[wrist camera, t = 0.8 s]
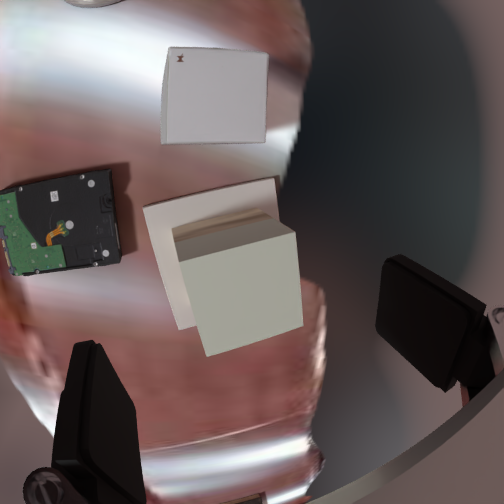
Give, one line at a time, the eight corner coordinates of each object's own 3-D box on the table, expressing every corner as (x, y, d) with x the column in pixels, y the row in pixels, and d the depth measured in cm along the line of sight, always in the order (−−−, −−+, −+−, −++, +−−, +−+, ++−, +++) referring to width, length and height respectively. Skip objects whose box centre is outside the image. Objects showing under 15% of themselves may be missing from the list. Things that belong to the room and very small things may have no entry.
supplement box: (159, 145, 30) (162, 145, 19) (162, 80, 27) (167, 42, 16) (226, 144, 32) (267, 145, 21) (229, 81, 29) (270, 50, 18)
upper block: (174, 242, 28) (178, 262, 23) (273, 218, 30) (295, 231, 26) (198, 328, 32) (206, 356, 27) (283, 302, 34) (303, 325, 30)
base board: (143, 206, 31) (142, 208, 30) (270, 177, 35) (274, 178, 34) (178, 325, 38) (178, 330, 37) (285, 294, 41) (288, 297, 40)
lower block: (171, 228, 32) (174, 242, 28) (257, 207, 35) (273, 218, 30) (191, 305, 36) (198, 328, 32) (268, 283, 38) (283, 302, 34)
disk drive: (111, 166, 29) (0, 189, 25) (108, 167, 27) (-10, 193, 23) (123, 254, 33) (18, 271, 29) (122, 263, 31) (10, 280, 26)
